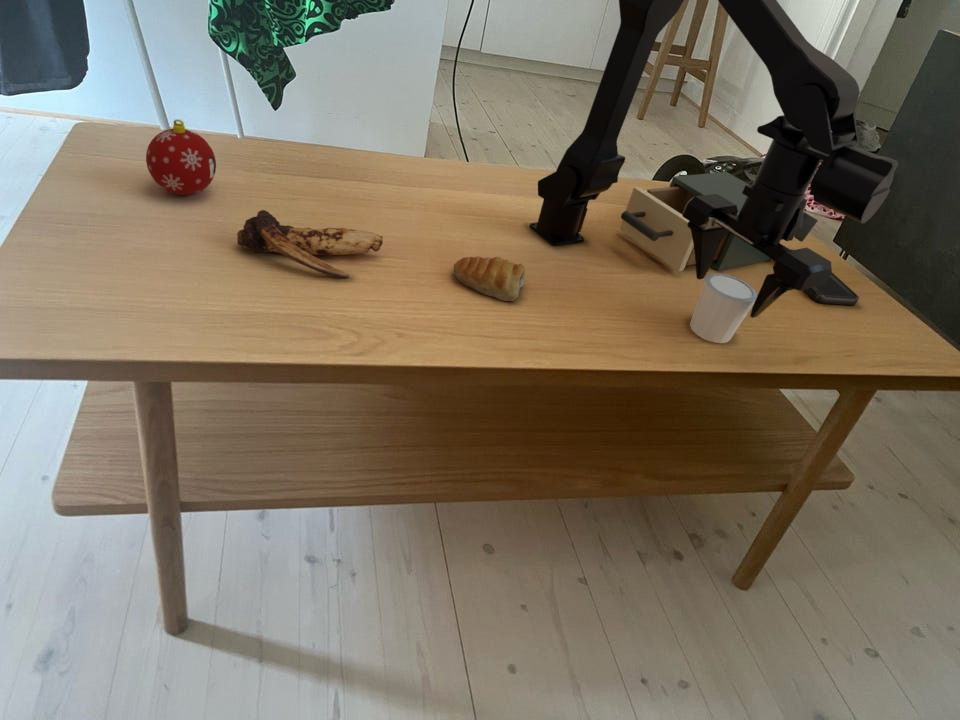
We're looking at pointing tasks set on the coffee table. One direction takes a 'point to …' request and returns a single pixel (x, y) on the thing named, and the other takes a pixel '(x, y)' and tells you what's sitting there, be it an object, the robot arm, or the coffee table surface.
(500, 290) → the pastry
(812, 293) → the phone
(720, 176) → the cabinet
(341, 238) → the bone fish hook
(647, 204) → the drawer
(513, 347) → the coffee table surface
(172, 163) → the christmas ornament
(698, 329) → the white cylinder
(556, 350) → the coffee table surface
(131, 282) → the coffee table surface
